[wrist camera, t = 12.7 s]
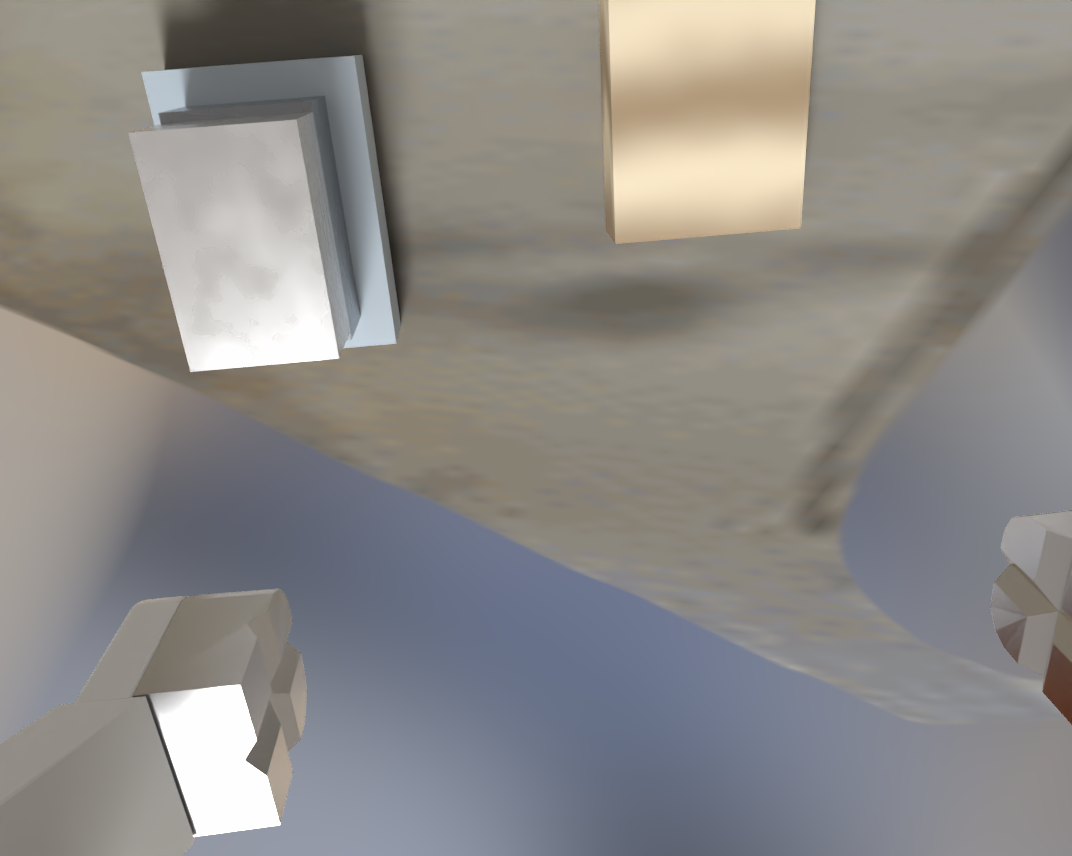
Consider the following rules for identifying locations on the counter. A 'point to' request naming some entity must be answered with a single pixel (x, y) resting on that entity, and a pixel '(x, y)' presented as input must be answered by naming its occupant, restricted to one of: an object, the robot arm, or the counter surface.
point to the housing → (250, 231)
